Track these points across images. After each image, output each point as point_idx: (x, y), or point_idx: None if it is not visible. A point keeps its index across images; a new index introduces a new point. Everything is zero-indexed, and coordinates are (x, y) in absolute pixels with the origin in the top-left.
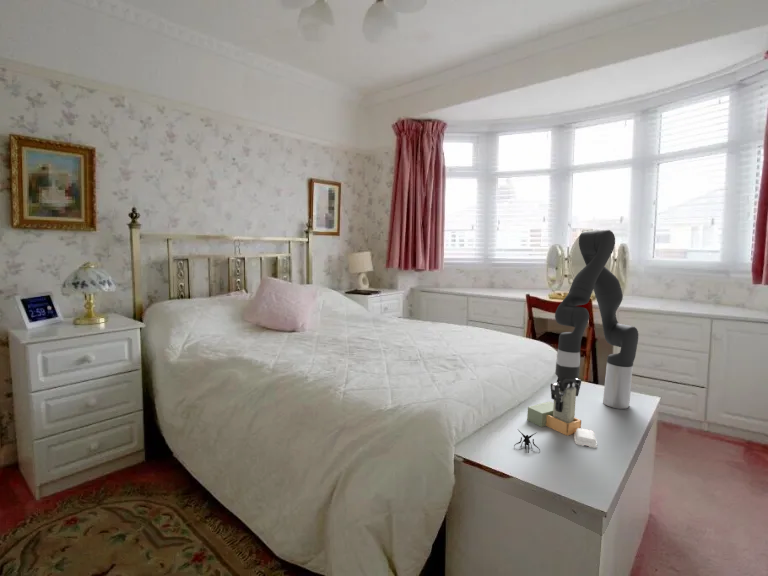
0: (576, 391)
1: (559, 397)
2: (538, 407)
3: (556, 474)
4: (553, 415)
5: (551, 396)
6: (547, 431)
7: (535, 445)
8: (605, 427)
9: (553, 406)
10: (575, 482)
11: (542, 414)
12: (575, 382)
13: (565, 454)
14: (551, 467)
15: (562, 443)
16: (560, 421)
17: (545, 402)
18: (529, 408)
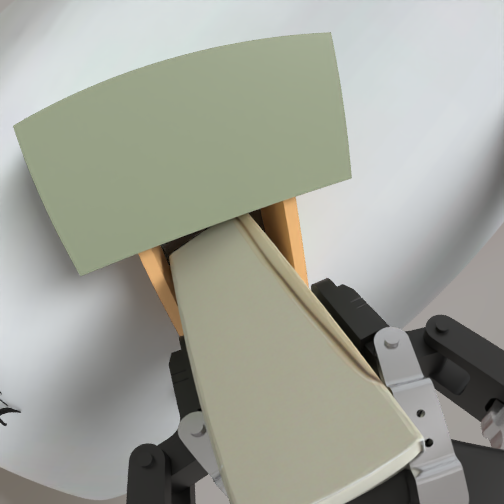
0: (441, 390)
1: (193, 497)
2: (109, 142)
3: (48, 463)
4: (173, 276)
5: (129, 478)
6: (104, 278)
7: (5, 412)
8: (406, 253)
9: (182, 318)
10: (81, 477)
11: (82, 271)
12: (492, 444)
13: (101, 422)
14: (41, 450)
15: (123, 375)
16: (178, 333)
17: (273, 38)
18: (21, 143)
